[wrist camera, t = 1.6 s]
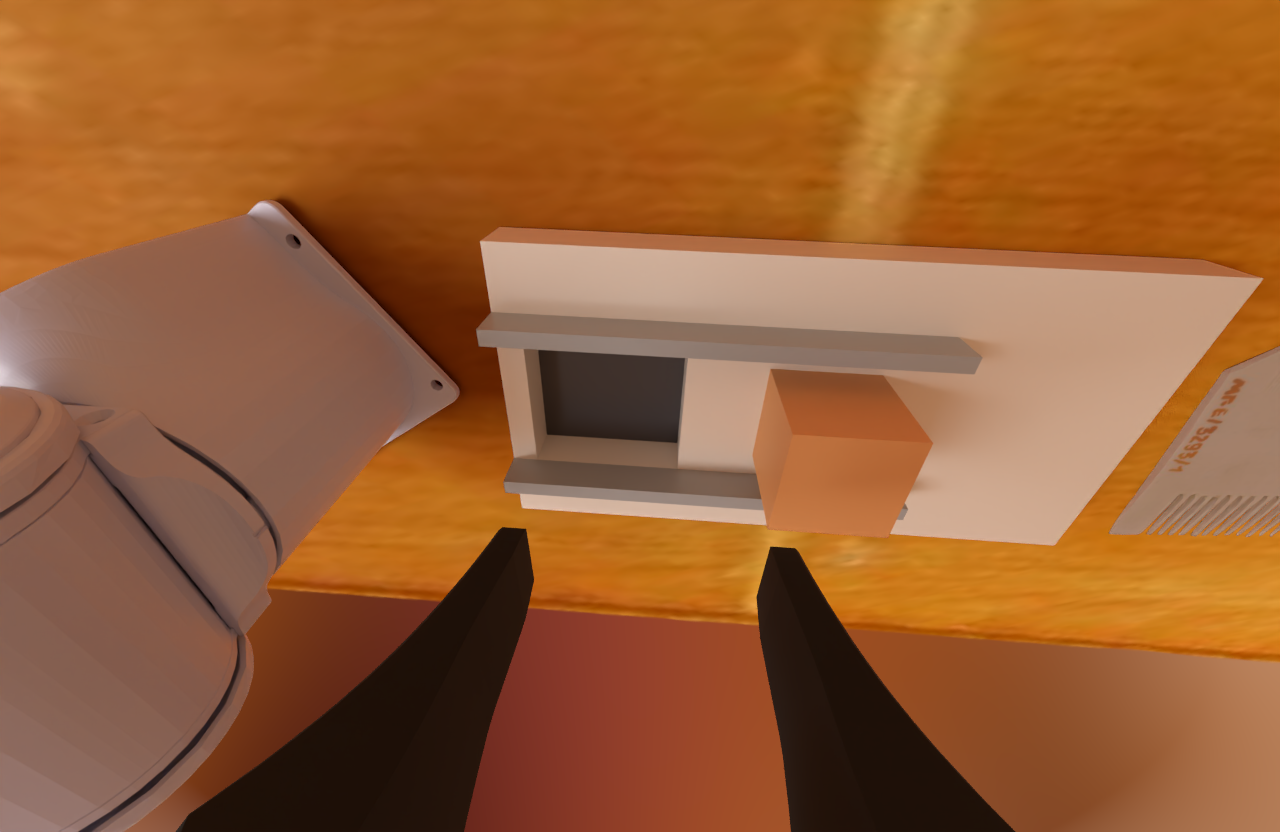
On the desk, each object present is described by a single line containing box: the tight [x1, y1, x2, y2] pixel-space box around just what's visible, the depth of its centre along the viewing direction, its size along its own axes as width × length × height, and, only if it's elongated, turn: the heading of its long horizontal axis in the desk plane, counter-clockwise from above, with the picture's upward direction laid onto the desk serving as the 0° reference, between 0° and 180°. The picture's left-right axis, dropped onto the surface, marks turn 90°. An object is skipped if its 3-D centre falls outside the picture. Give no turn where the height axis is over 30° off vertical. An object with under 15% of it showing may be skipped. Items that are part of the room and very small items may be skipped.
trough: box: [476, 227, 1264, 545], centre depth 18 cm, size 24×12×4 cm, turn 88°
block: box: [752, 369, 933, 538], centre depth 16 cm, size 4×4×4 cm
